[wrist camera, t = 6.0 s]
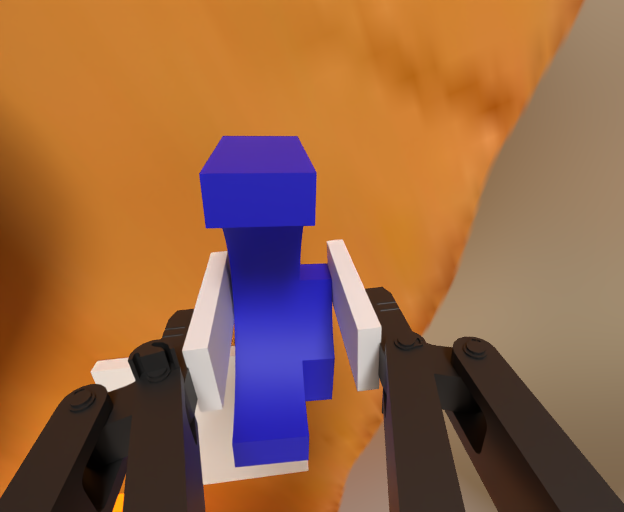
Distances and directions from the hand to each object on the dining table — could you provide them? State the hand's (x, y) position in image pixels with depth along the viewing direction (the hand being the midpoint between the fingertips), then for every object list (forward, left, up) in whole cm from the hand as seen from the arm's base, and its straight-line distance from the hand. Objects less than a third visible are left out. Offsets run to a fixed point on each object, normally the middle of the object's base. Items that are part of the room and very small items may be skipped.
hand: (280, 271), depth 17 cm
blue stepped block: (0, 0, 0) cm, 0 cm away
